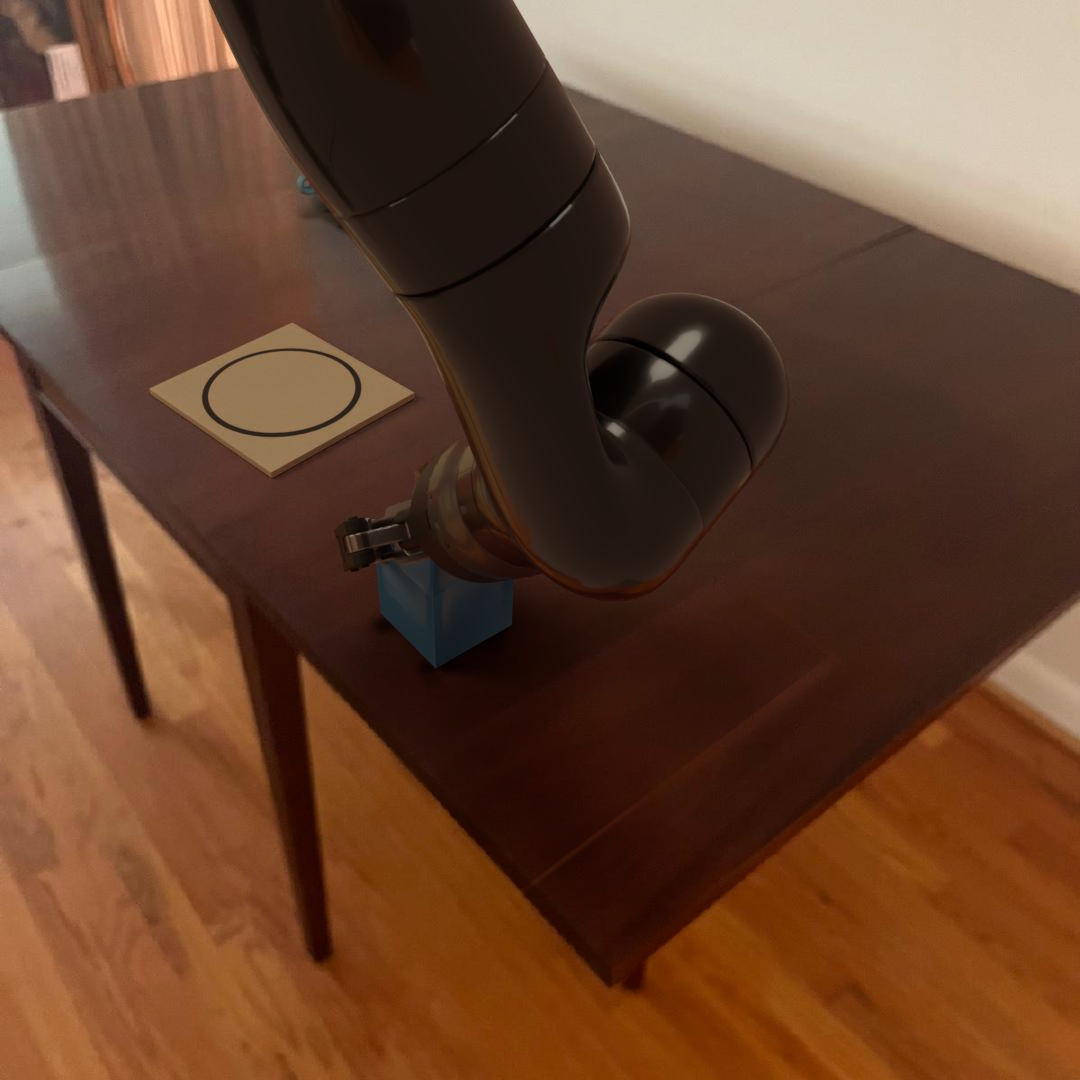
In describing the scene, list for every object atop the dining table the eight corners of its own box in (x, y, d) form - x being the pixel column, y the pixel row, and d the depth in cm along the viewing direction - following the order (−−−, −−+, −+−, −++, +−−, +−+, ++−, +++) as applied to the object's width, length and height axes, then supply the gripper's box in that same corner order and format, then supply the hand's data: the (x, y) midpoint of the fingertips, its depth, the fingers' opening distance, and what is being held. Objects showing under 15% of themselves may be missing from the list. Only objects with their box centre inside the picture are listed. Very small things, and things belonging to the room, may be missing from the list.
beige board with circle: (272, 478, 80) (270, 471, 79) (150, 394, 87) (148, 387, 87) (414, 398, 88) (414, 391, 88) (292, 328, 96) (292, 321, 95)
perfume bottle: (380, 613, 70) (367, 470, 62) (455, 573, 73) (452, 432, 65) (435, 668, 66) (429, 524, 58) (511, 624, 69) (515, 482, 61)
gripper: (620, 398, 53) (524, 451, 68) (340, 456, 48) (305, 498, 64) (656, 543, 53) (552, 562, 68) (379, 614, 48) (335, 618, 64)
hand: (433, 531), depth 66 cm, fingers closed on perfume bottle, 7 cm apart
